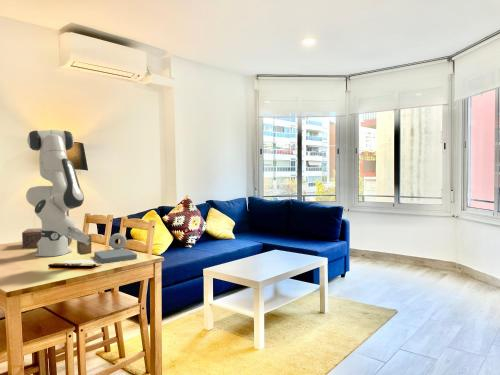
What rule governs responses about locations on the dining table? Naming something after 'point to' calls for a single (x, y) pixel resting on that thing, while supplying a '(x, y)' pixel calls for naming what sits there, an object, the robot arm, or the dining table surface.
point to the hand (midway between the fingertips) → (85, 243)
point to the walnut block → (84, 247)
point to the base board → (115, 255)
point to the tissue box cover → (34, 238)
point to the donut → (117, 236)
